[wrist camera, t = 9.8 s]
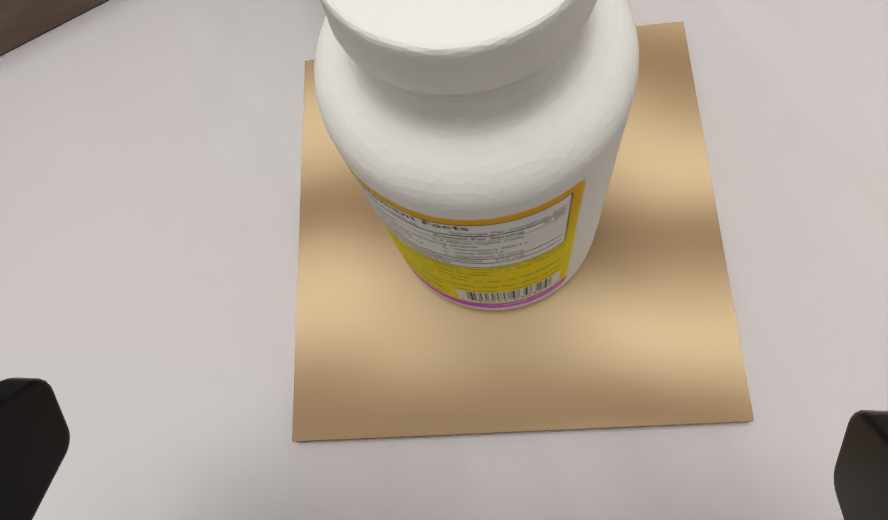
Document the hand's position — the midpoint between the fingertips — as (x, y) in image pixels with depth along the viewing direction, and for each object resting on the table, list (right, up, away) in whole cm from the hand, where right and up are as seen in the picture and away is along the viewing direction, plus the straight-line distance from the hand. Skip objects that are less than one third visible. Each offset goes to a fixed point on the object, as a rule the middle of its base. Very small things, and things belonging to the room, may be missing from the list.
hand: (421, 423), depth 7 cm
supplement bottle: (+2, +3, +15) cm, 15 cm away
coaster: (+2, +3, +15) cm, 16 cm away
